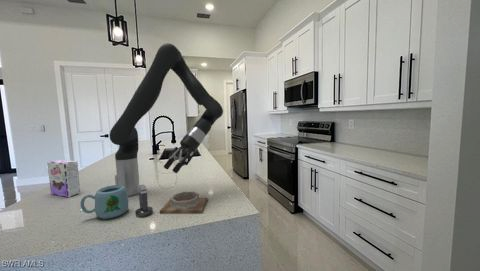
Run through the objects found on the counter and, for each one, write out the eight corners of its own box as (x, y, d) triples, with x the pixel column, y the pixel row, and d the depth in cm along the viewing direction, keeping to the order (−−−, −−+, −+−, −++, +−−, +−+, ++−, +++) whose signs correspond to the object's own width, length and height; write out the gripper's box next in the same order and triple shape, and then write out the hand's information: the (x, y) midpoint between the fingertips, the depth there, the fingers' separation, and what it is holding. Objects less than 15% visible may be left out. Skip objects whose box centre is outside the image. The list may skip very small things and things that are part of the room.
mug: (80, 227, 71) (77, 199, 70) (83, 214, 80) (81, 189, 79) (130, 215, 78) (128, 189, 77) (128, 205, 88) (126, 181, 87)
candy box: (50, 194, 102) (46, 161, 101) (64, 190, 108) (60, 159, 106) (67, 198, 97) (63, 163, 96) (81, 193, 103) (77, 160, 101)
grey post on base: (133, 213, 80) (131, 185, 79) (149, 208, 84) (147, 181, 83) (138, 219, 75) (136, 189, 74) (155, 213, 79) (153, 185, 78)
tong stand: (159, 213, 79) (159, 202, 79) (171, 200, 91) (170, 191, 91) (201, 213, 79) (201, 202, 78) (207, 200, 90) (207, 190, 90)
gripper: (179, 133, 95) (155, 162, 89) (196, 134, 85) (170, 168, 78) (190, 143, 99) (168, 172, 93) (207, 146, 89) (184, 178, 82)
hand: (169, 170), depth 85 cm, fingers open, 8 cm apart
